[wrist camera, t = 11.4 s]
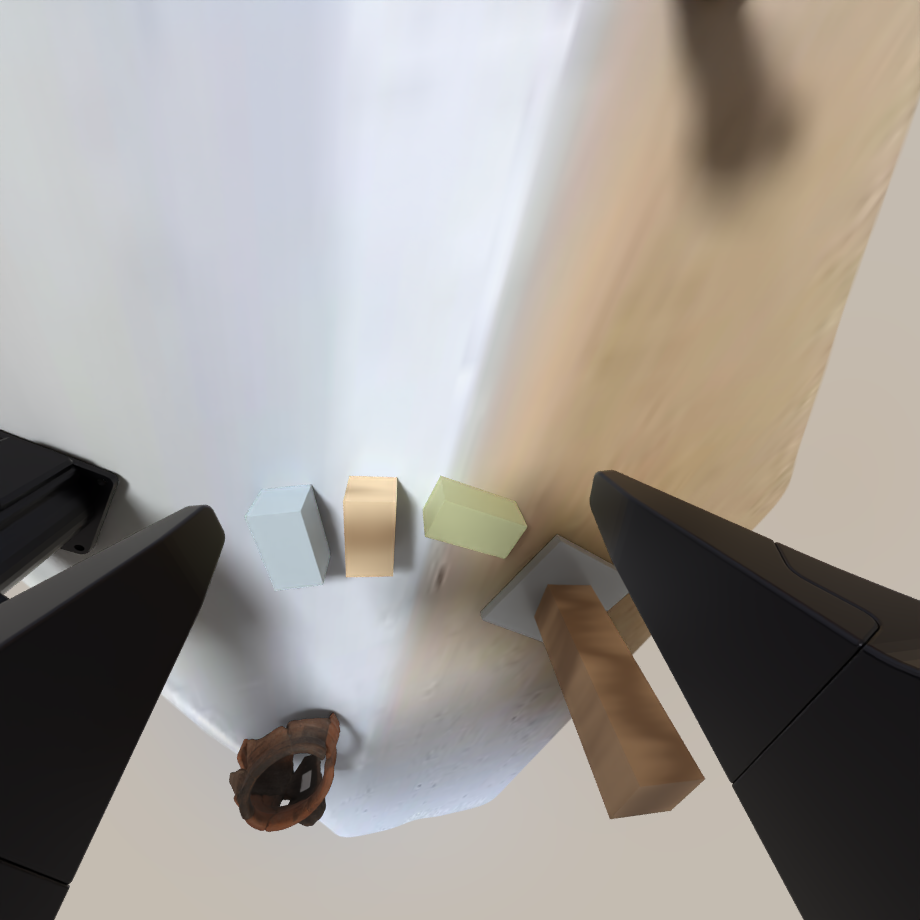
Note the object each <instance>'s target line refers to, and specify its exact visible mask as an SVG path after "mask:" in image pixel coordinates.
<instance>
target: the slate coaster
mask: <svg viewBox="0 0 920 920" xmlns="http://www.w3.org/2000/svg"><path fill="white" fill-rule="evenodd" d="M547 584H553V585H591V587H592V588H593V590H594V592H595V593H596V595H597V597H598V598H599V600H600V602H601V603H602V605H603V607H604V609H605V610H606V612H607V611H608V610H609V609H610V608H612V607H613V606H614V605H615V604H616V603H617V602H619V601H620V600H621V599H622V598H623V597H624V596H626V595H627V594H628V593H629V592H628V590H627V588H626V587H625V585H624V583H623V581H622V579H621V577H620V575H619V573H618V572H617V570H616V568H615V566H614V565H613V564H611V563H609V562H607V561H605V560H603V559H602V558H600V557H598V556H596V555H594V554H592V553H591V552H589V551H587V550H585V549H583V548H581V547H580V546H578V545H576V544H574V543H572V542H570V541H569V540H567V539H565V538H563V537H561V536H559V535H558V534H557V535H556V536H555V537H554V538H553V539H552V540H551V541H550V542H549V543H548V544H547V545H546V546H545V547H544V548H543V549H542V550H541V551H540V552H539V553H538V554H537V555H536V556H535V557H534V558H533V559H532V560H531V561H530V562H529V563H528V564H527V565H526V566H525V567H524V568H523V569H522V570H521V571H520V572H519V573H518V574H517V575H516V576H515V577H514V578H513V579H512V580H511V581H510V582H509V584H508V585H507V586H506V587H505V588H504V589H503V590H502V591H501V592H500V593H499V594H498V595H497V596H496V597H495V598H494V599H493V600H492V601H491V602H490V603H489V604H488V605H487V606H486V607H485V608H484V609H483V610H482V611H481V612H480V613H481V617H482V620H483V621H486V622H489V623H492V624H494V625H497V626H500V627H503V628H505V629H508V630H511V631H514V632H516V633H519V634H522V635H525V636H527V637H530V638H533V639H536V640H538V641H541V642H543V639H542V637H541V634H540V631H539V629H538V626H537V623H536V621H535V618H534V616H535V613H536V611H537V608H538V606H539V604H540V601H541V599H542V596H543V594H544V592H545V589H546V587H547Z"/></svg>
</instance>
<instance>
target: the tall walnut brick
mask: <svg viewBox="0 0 920 920" xmlns="http://www.w3.org/2000/svg"><path fill="white" fill-rule="evenodd" d="M534 618H535V621H536V623H537V626H538V629H539V631H540V634H541V637H542V639H543V642H544V645H545V647H546V650H547V653H548V655H549V658H550V661H551V663H552V666H553V669H554V671H555V674H556V677H557V679H558V682H559V685H560V687H561V690H562V693H563V695H564V698H565V701H566V703H567V706H568V709H569V711H570V714H571V717H572V719H573V722H574V725H575V727H576V730H577V733H578V735H579V738H580V740H581V743H582V746H583V748H584V751H585V754H586V756H587V759H588V762H589V764H590V767H591V770H592V772H593V775H594V778H595V780H596V783H597V786H598V788H599V791H600V794H601V796H602V799H603V802H604V804H605V807H606V809H607V812H608V815H609V818H610V819H614V818H621V817H629V816H636V815H643V814H651V813H658V812H665V811H671V810H672V809H673V808H674V807H675V806H676V805H677V804H679V803H680V802H681V801H682V800H683V799H684V798H685V797H686V796H687V795H688V794H689V793H690V792H692V791H693V790H694V789H695V788H696V787H697V786H698V785H699V784H700V783H701V782H702V781H704V779H705V778H704V776H703V774H702V773H701V771H700V769H699V768H698V766H697V764H696V763H695V761H694V759H693V758H692V756H691V754H690V752H689V751H688V749H687V747H686V746H685V744H684V742H683V741H682V739H681V737H680V735H679V734H678V732H677V730H676V729H675V727H674V725H673V724H672V722H671V720H670V719H669V717H668V715H667V714H666V712H665V710H664V708H663V707H662V705H661V703H660V702H659V700H658V698H657V697H656V695H655V693H654V692H653V690H652V688H651V686H650V685H649V683H648V681H647V680H646V678H645V676H644V675H643V673H642V671H641V669H640V668H639V666H638V664H637V663H636V661H635V660H634V658H633V656H632V654H631V653H630V651H629V649H628V647H627V646H626V644H625V642H624V641H623V639H622V637H621V636H620V634H619V632H618V631H617V629H616V627H615V625H614V624H613V622H612V620H611V619H610V617H609V615H608V614H607V612H606V610H605V609H604V607H603V605H602V603H601V602H600V600H599V598H598V597H597V595H596V593H595V592H594V590H593V588H592V587H591V585H553V584H547V587H546V589H545V592H544V594H543V596H542V599H541V601H540V604H539V606H538V608H537V611H536V613H535V616H534Z"/></svg>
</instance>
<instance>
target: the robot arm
mask: <svg viewBox="0 0 920 920" xmlns="http://www.w3.org/2000/svg"><path fill="white" fill-rule="evenodd" d="M103 479H105V480H106V481H107V482H106V481H104V480H103ZM117 484H118V478H117V477H116V476H115V475H114V474H113V473H111V472H108V471H105V470H103V469H100V468H98V467H95V466H92V465H90V464H87V463H84V462H82V461H79V460H76V459H74V458H71V457H68V456H66V455H63V454H60V453H58V452H55V451H52V450H50V449H47V448H44V447H42V446H39V445H36V444H34V443H31V442H28V441H26V440H23V439H20V438H18V437H15V436H12V435H10V434H7V433H4V432H2V431H0V920H54V919H55V917H56V915H57V913H58V911H59V909H60V906H61V904H62V902H63V900H64V898H65V896H66V894H67V892H68V890H69V887H70V886H69V885H68V884H70V883H71V882H72V880H73V878H74V876H75V874H76V872H77V870H78V868H79V865H80V863H81V861H82V859H83V857H84V855H85V853H86V850H87V849H88V846H89V844H90V842H91V840H92V838H93V836H94V834H95V832H96V829H97V827H98V825H99V823H100V821H101V819H102V817H103V814H104V813H105V810H106V808H107V806H108V804H109V802H110V800H111V797H112V795H113V793H114V791H115V789H116V787H117V785H118V783H119V781H120V779H121V776H122V774H123V772H124V770H125V768H126V766H127V764H128V762H129V759H130V757H131V755H132V753H133V751H134V749H135V747H136V745H137V743H138V740H139V738H140V736H141V734H142V732H143V730H144V728H145V726H146V723H147V721H148V719H149V717H150V715H151V713H152V711H153V709H154V707H155V704H156V702H157V700H158V698H159V696H160V694H161V692H162V690H163V687H164V685H165V683H166V681H167V679H168V677H169V675H170V673H171V671H172V668H173V666H174V664H175V662H176V660H177V658H178V656H179V654H180V651H181V649H182V647H183V645H184V643H185V641H186V639H187V637H188V635H189V632H190V630H191V628H192V626H193V624H194V622H195V620H196V618H197V615H198V613H199V611H200V609H201V606H202V604H203V602H204V599H205V596H206V594H207V591H208V588H209V585H210V582H211V580H212V577H213V574H214V571H215V568H216V565H217V562H218V559H219V557H220V554H221V551H222V548H223V545H224V541H225V534H224V530H223V528H222V526H221V524H220V522H219V520H218V518H217V516H216V514H215V512H214V511H213V509H212V508H211V507H210V506H208V505H196V506H188V507H185V508H183V509H181V510H179V511H177V512H175V513H174V514H172V515H170V516H168V517H166V518H164V519H162V520H160V521H158V522H156V523H154V524H152V525H151V526H149V527H147V528H145V529H143V530H141V531H139V532H137V533H135V534H133V535H131V536H129V537H128V538H126V539H124V540H122V541H120V542H118V543H116V544H114V545H112V546H110V547H108V548H106V549H105V550H103V551H101V552H99V553H97V554H95V555H93V556H91V557H89V558H87V559H85V560H83V561H82V562H80V563H78V564H76V565H74V566H72V567H70V568H68V569H66V570H64V571H62V572H60V573H59V574H57V575H55V576H53V577H51V578H49V579H47V580H45V581H43V582H41V583H39V584H37V585H36V586H34V587H32V588H30V589H28V590H26V591H24V592H22V593H20V594H18V595H16V596H15V597H13V598H11V599H9V598H7V597H6V596H5V595H4V594H5V593H6V592H7V591H9V590H10V589H11V588H12V587H13V586H14V585H16V584H17V583H18V582H20V581H21V580H22V579H23V578H24V577H26V576H27V575H28V574H29V573H30V572H32V571H33V570H34V569H35V568H37V567H38V566H39V565H40V564H41V563H43V562H44V561H45V560H46V559H47V558H49V557H50V556H51V555H52V554H54V553H55V552H56V551H57V550H58V549H60V548H61V549H64V550H68V551H71V552H75V553H79V554H86V553H88V552H89V551H90V550H91V549H92V548H93V547H94V546H95V543H96V540H97V538H98V535H99V532H100V530H101V527H102V524H103V522H104V519H105V516H106V514H107V511H108V508H109V506H110V503H111V500H112V498H113V495H114V492H115V490H116V487H117ZM590 507H591V510H592V513H593V515H594V518H595V520H596V523H597V525H598V528H599V530H600V533H601V535H602V538H603V540H604V543H605V545H606V548H607V550H608V553H609V555H610V557H611V560H612V562H613V564H614V566H615V568H616V570H617V572H618V573H619V575H620V577H621V579H622V581H623V583H624V585H625V587H626V588H627V590H628V592H629V594H630V596H631V598H632V600H633V601H634V603H635V605H636V607H637V609H638V611H639V613H640V615H641V616H642V618H643V620H644V622H645V624H646V626H647V628H648V629H649V631H650V633H651V635H652V637H653V639H654V641H655V642H656V644H657V646H658V648H659V650H660V652H661V654H662V656H663V657H664V659H665V661H666V663H667V665H668V667H669V669H670V671H671V672H672V674H673V676H674V678H675V680H676V682H677V684H678V685H679V687H680V689H681V691H682V693H683V695H684V697H685V699H686V700H687V702H688V704H689V706H690V708H691V709H692V711H693V713H694V715H695V717H696V719H697V721H698V723H699V725H700V727H701V728H702V730H703V732H704V734H705V736H706V738H707V740H708V741H709V743H710V745H711V747H712V749H713V751H714V752H715V754H716V756H717V758H718V760H719V762H720V764H721V766H722V768H723V769H724V771H725V773H726V775H727V777H728V779H729V781H730V782H731V783H733V784H732V787H733V789H734V791H735V793H736V794H737V796H738V798H739V800H740V802H741V804H742V806H743V807H744V809H745V811H746V813H747V815H748V817H749V818H750V821H751V822H752V824H753V826H754V828H755V830H756V832H757V834H758V835H759V837H760V839H761V841H762V843H763V845H764V846H765V849H766V850H767V852H768V854H769V856H770V858H771V860H772V862H773V863H774V865H775V867H776V869H777V871H778V873H779V874H780V876H781V878H782V880H783V882H784V884H785V886H786V888H787V890H788V891H789V893H790V895H791V897H792V899H793V901H794V903H795V904H796V906H797V908H798V910H799V912H800V914H801V916H802V918H803V919H804V920H920V600H917V599H914V598H912V597H909V596H907V595H904V594H902V593H899V592H897V591H894V590H891V589H889V588H886V587H884V586H881V585H879V584H876V583H874V582H871V581H869V580H866V579H864V578H861V577H858V576H856V575H854V574H851V573H849V572H846V571H844V570H841V569H839V568H836V567H834V566H831V565H829V564H827V563H825V562H822V561H820V560H817V559H815V558H813V557H810V556H808V555H806V554H803V553H801V552H799V551H796V550H794V549H792V548H790V547H787V546H785V545H783V544H781V543H778V542H776V543H774V542H773V540H771V539H769V538H767V537H765V536H762V535H760V534H758V533H755V532H753V531H751V530H749V529H746V528H744V527H742V526H740V525H737V524H735V523H733V522H730V521H728V520H726V519H724V518H721V517H719V516H717V515H715V514H712V513H710V512H708V511H705V510H703V509H701V508H699V507H696V506H694V505H692V504H690V503H687V502H685V501H683V500H680V499H678V498H676V497H674V496H671V495H669V494H667V493H665V492H662V491H660V490H658V489H655V488H653V487H651V486H649V485H646V484H644V483H642V482H640V481H637V480H635V479H633V478H631V477H628V476H626V475H624V474H621V473H619V472H617V471H614V470H607V471H598V472H597V473H596V474H595V475H594V479H593V484H592V489H591V495H590Z"/></svg>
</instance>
